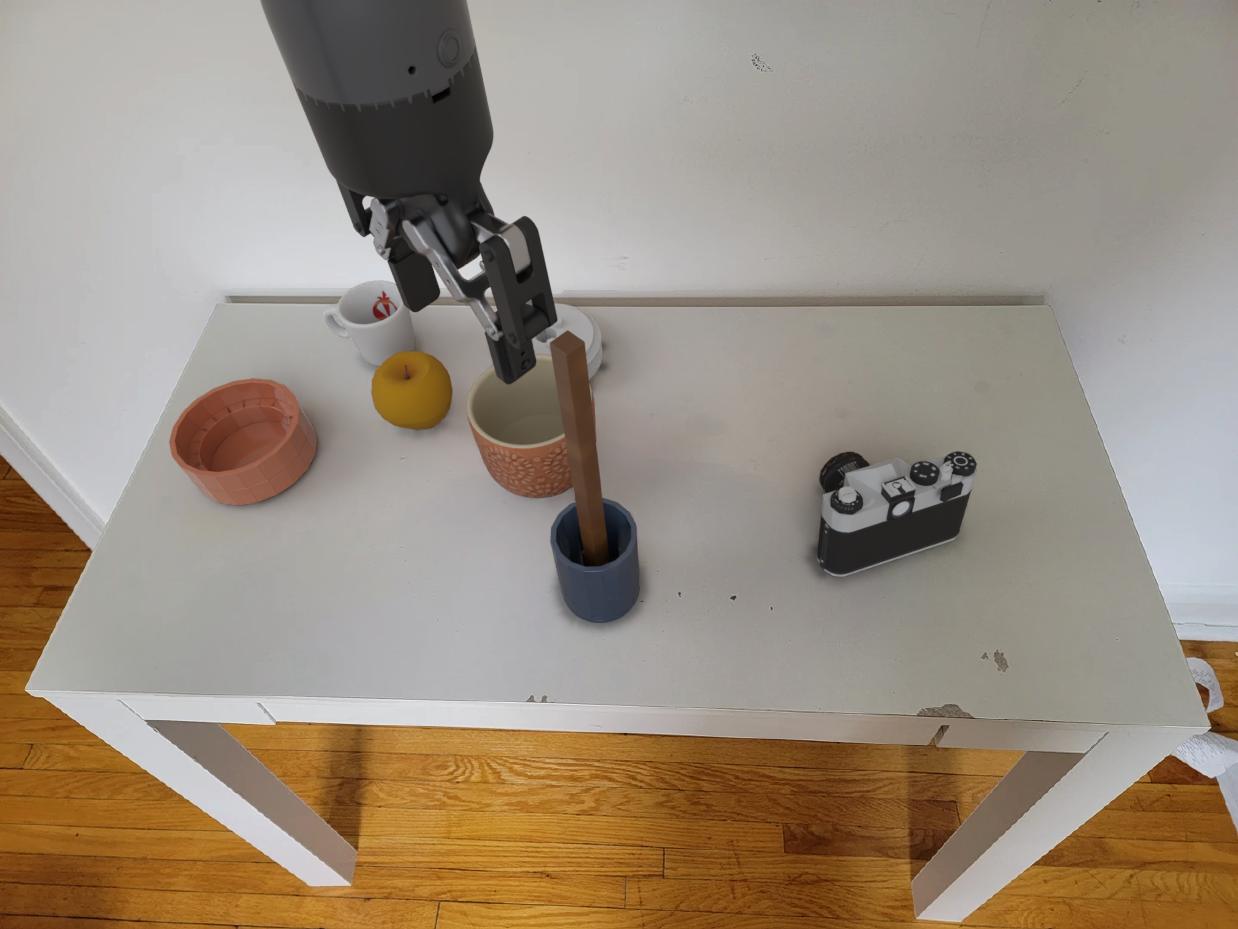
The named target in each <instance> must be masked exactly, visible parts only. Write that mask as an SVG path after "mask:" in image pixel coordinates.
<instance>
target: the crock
mask: <svg viewBox="0 0 1238 929" xmlns="http://www.w3.org/2000/svg"><path fill="white" fill-rule="evenodd" d="M602 499H603V508H604V517H605V525H606V534H607V543H608V552H609V561H610V563H608V564H605V565H603V566H592V567H585V566H584V565H583V559H582V554H581V552H582V551H583V544H582V538H581V532H580V525H579V519H578V513H577V507H576V501H574V502H572V503H570V504H568V505H567V506H566V507H565V508H564V509H562V510H561V511H559V513H558V514H557V515H556V517H555V519H554V521H553V524H552V525H551V527H550V539H549V543H550V546H551V551H552V555H553V559H554V564H555V569H556V573H557V578H558V582H559V587H560V590H561V594H562V597H563V600H564V602H565V604H566V606H567V608H568V609H569V610H570V611H571V612H572V614H573V615H575V616H576V617H578V618H579V619H581V620H583V621H585V622H589V623H593V624H607V623H611V622H614V621H617V620H619V619H622V617H624V616H625V615H627V614H628V613H629V612H630V611H631V610H632V609H633V607H635V604H636V603H637V601H638V599H639V594H640V590H641V588H640V587H641V584H640V563H639V562H640V560H639V545H638V544H639V542H638V526H637V523H636V521H635V519H634V517H633V515H632V513H631V512H630V510H628V509H627V508H626V507H625V506H623V505H622V504H621V503H619V502H618V501H616V500H613V499H609V498H606V497H602Z"/></svg>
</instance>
